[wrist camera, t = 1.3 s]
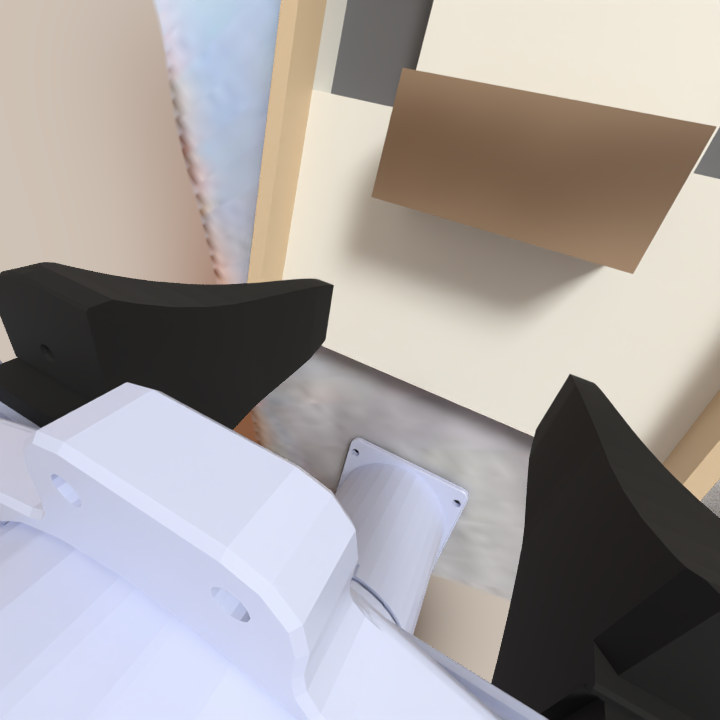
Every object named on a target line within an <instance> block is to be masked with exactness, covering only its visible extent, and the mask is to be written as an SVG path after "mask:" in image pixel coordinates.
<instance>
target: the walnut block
mask: <svg viewBox="0 0 720 720" xmlns="http://www.w3.org/2000/svg"><path fill="white" fill-rule="evenodd" d="M715 129H716V126H711V125H706V124H700V123H695V122H690V121H684V120H679V119H674V118H668V117H663V116H658V115H652V114H647V113H642V112H636V111H631V110H626V109H620V108H615V107H610V106H604V105H599V104H594V103H588V102H583V101H578V100H572V99H567V98H562V97H556V96H551V95H546V94H540V93H535V92H530V91H524V90H519V89H514V88H508V87H503V86H498V85H492V84H487V83H482V82H476V81H471V80H466V79H460V78H455V77H450V76H444V75H439V74H434V73H428V72H423V71H418V70H412V69H407V68H402V72H401V76H400V80H399V84H398V88H397V93H396V97H395V101H394V105H393V109H392V113H391V117H390V122H389V126H388V130H387V134H386V138H385V142H384V146H383V151H382V155H381V159H380V163H379V167H378V171H377V175H376V180H375V184H374V188H373V192H372V196H371V197H373V198H376V199H380V200H383V201H386V202H390V203H393V204H397V205H400V206H403V207H407V208H410V209H414V210H417V211H420V212H424V213H427V214H431V215H434V216H437V217H441V218H444V219H448V220H451V221H454V222H458V223H461V224H464V225H468V226H471V227H475V228H478V229H481V230H485V231H488V232H492V233H495V234H498V235H502V236H505V237H509V238H512V239H515V240H519V241H522V242H526V243H529V244H532V245H536V246H539V247H543V248H546V249H549V250H553V251H556V252H559V253H563V254H566V255H570V256H573V257H576V258H580V259H583V260H587V261H590V262H593V263H597V264H600V265H604V266H607V267H610V268H614V269H617V270H621V271H624V272H627V273H631V274H633V273H634V271H635V270H636V268H637V266H638V264H639V263H640V261H641V259H642V257H643V256H644V254H645V252H646V250H647V249H648V247H649V245H650V243H651V242H652V240H653V238H654V236H655V235H656V233H657V231H658V229H659V227H660V226H661V224H662V222H663V220H664V219H665V217H666V215H667V213H668V212H669V210H670V208H671V206H672V205H673V203H674V201H675V199H676V198H677V196H678V194H679V192H680V191H681V189H682V187H683V185H684V184H685V182H686V180H687V178H688V176H689V175H690V173H691V171H692V169H693V168H694V166H695V164H696V162H697V161H698V159H699V157H700V155H701V154H702V152H703V150H704V148H705V147H706V145H707V143H708V141H709V140H710V138H711V136H712V134H713V132H714V131H715Z"/></svg>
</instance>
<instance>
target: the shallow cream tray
mask: <svg viewBox="0 0 720 720" xmlns="http://www.w3.org/2000/svg"><path fill="white" fill-rule="evenodd" d="M402 68H407V69H412V70H418V71H423V72H428V73H434V74H439V75H444V76H450V77H455V78H460V79H466V80H471V81H476V82H482V83H487V84H492V85H498V86H503V87H508V88H514V89H519V90H524V91H530V92H535V93H540V94H546V95H551V96H556V97H562V98H567V99H572V100H578V101H583V102H588V103H594V104H599V105H604V106H610V107H615V108H620V109H626V110H631V111H636V112H642V113H647V114H652V115H658V116H663V117H668V118H674V119H679V120H684V121H690V122H695V123H700V124H706V125H711V126H716V129H715V131H714V132H713V134H712V136H711V138H710V140H709V141H708V143H707V145H706V147H705V148H704V150H703V152H702V154H701V155H700V157H699V159H698V161H697V162H696V164H695V166H694V168H693V169H692V171H691V173H690V175H689V176H688V178H687V180H686V182H685V184H684V185H683V187H682V189H681V191H680V192H679V194H678V196H677V198H676V199H675V201H674V203H673V205H672V206H671V208H670V210H669V212H668V213H667V215H666V217H665V219H664V220H663V222H662V224H661V226H660V227H659V229H658V231H657V233H656V235H655V236H654V238H653V240H652V242H651V243H650V245H649V247H648V249H647V250H646V252H645V254H644V256H643V257H642V259H641V261H640V263H639V264H638V266H637V268H636V270H635V271H634V273H633V274H631V273H627V272H624V271H621V270H617V269H614V268H610V267H607V266H604V265H600V264H597V263H593V262H590V261H587V260H583V259H580V258H576V257H573V256H570V255H566V254H563V253H559V252H556V251H553V250H549V249H546V248H543V247H539V246H536V245H532V244H529V243H526V242H522V241H519V240H515V239H512V238H509V237H505V236H502V235H498V234H495V233H492V232H488V231H485V230H481V229H478V228H475V227H471V226H468V225H464V224H461V223H458V222H454V221H451V220H448V219H444V218H441V217H437V216H434V215H431V214H427V213H424V212H420V211H417V210H414V209H410V208H407V207H403V206H400V205H397V204H393V203H390V202H386V201H383V200H380V199H376V198H373V197H371V196H372V192H373V188H374V184H375V180H376V175H377V171H378V167H379V163H380V159H381V155H382V151H383V146H384V142H385V138H386V134H387V130H388V126H389V122H390V117H391V113H392V109H393V105H394V101H395V97H396V93H397V88H398V84H399V80H400V76H401V72H402ZM307 278H312V279H319V280H322V281H324V282H327V283H330V284H332V285H334V288H333V294H332V301H331V307H330V314H329V320H328V327H327V334H326V340H325V341H324V342H323V344H322V345H321V346H324V347H326V348H328V349H331V350H333V351H335V352H338V353H340V354H342V355H345V356H347V357H349V358H352V359H354V360H356V361H359V362H361V363H363V364H366V365H368V366H370V367H373V368H375V369H377V370H380V371H382V372H384V373H387V374H389V375H391V376H394V377H396V378H398V379H401V380H403V381H405V382H408V383H410V384H412V385H415V386H417V387H419V388H422V389H424V390H426V391H429V392H431V393H433V394H436V395H438V396H440V397H443V398H445V399H447V400H449V401H452V402H454V403H456V404H459V405H461V406H463V407H466V408H468V409H470V410H473V411H475V412H477V413H480V414H482V415H484V416H487V417H489V418H491V419H494V420H496V421H498V422H501V423H503V424H505V425H508V426H510V427H512V428H515V429H517V430H519V431H522V432H524V433H526V434H529V435H531V436H533V437H534V435H535V431H536V428H537V427H538V425H539V424H540V422H541V420H542V419H543V417H544V415H545V414H546V412H547V410H548V409H549V407H550V406H551V404H552V402H553V401H554V399H555V397H556V396H557V394H558V392H559V391H560V389H561V388H562V386H563V384H564V383H565V381H566V379H567V378H568V376H569V375H570V374H572V375H575V376H577V377H580V378H583V379H585V380H588V381H591V382H593V383H595V384H596V385H597V386H598V387H599V388H600V389H601V391H602V392H603V393H604V394H605V395H606V397H607V398H608V399H609V400H610V402H611V403H612V404H613V406H614V407H615V408H616V410H617V411H618V412H619V413H620V415H621V416H622V417H623V419H624V420H625V421H626V422H627V424H628V425H629V426H630V427H631V429H632V430H633V431H634V432H635V434H636V435H637V436H638V437H639V438H640V440H641V441H642V442H643V443H644V444H645V445H646V447H647V448H648V449H649V450H650V451H651V452H652V453H653V454H654V455H655V457H656V458H657V459H658V460H659V461H660V462H661V463H662V464H663V465H664V466H665V468H666V469H667V470H668V471H669V472H670V473H671V474H672V475H673V476H674V477H675V478H676V479H677V480H678V481H679V482H680V483H682V484H683V485H684V486H685V487H686V488H687V489H688V490H689V491H690V492H691V493H692V494H693V495H694V496H695V497H696V498H697V499H698V500H699V501H701V499H702V498H703V497H704V496H705V495H706V494H707V493H708V492H709V490H710V489H711V488H712V487H713V486H714V485H715V484H716V482H717V481H718V480H719V479H720V0H281V6H280V14H279V23H278V31H277V39H276V48H275V56H274V64H273V73H272V81H271V89H270V98H269V106H268V114H267V123H266V131H265V139H264V148H263V156H262V164H261V173H260V181H259V189H258V198H257V206H256V214H255V223H254V231H253V240H252V248H251V256H250V265H249V273H248V281H247V283H259V282H270V281H280V280H291V279H307Z"/></svg>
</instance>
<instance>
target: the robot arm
mask: <svg viewBox="0 0 720 720" xmlns="http://www.w3.org/2000/svg"><path fill="white" fill-rule="evenodd" d="M333 288H334V285H332V284H330V283H327V282H324V281H322V280H319V279H312V278H307V279H291V280H280V281H270V282H259V283H244V284H227V285H197V284H180V283H168V282H155V281H147V280H139V279H132V278H126V277H120V276H114V275H108V274H103V273H98V272H93V271H88V270H84V269H80V268H75V267H70V266H66V265H61V264H58V263H49V262H43V263H38V264H33V265H29V266H25V267H20V268H17V269H12V270H7V271H3V272H1V273H0V316H1V319H2V321H3V324H4V327H5V329H6V331H7V334H8V336H9V339H10V342H11V344H12V347H13V349H14V352H15V354H16V356H17V357H18V358H15V359H13V360H10V361H8V362H5V363H2V362H1V361H0V720H720V518H719V517H718V516H716V515H715V514H714V513H713V512H712V511H711V510H709V509H708V508H707V507H706V506H705V505H704V504H703V503H702V502H700V501H699V500H698V499H697V498H696V497H695V496H694V495H693V494H692V493H691V492H690V491H689V490H688V489H687V488H686V487H685V486H684V485H683V484H682V483H680V482H679V481H678V480H677V479H676V478H675V477H674V476H673V475H672V474H671V473H670V472H669V471H668V470H667V469H666V468H665V466H664V465H663V464H662V463H661V462H660V461H659V460H658V459H657V458H656V457H655V455H654V454H653V453H652V452H651V451H650V450H649V449H648V448H647V447H646V445H645V444H644V443H643V442H642V441H641V440H640V438H639V437H638V436H637V435H636V434H635V432H634V431H633V430H632V429H631V427H630V426H629V425H628V424H627V422H626V421H625V420H624V419H623V417H622V416H621V415H620V413H619V412H618V411H617V410H616V408H615V407H614V406H613V404H612V403H611V402H610V400H609V399H608V398H607V397H606V395H605V394H604V393H603V392H602V391H601V389H600V388H599V387H598V386H597V385H596V384H595V383H593V382H591V381H588V380H585V379H583V378H580V377H577V376H575V375H572V374H570V375H569V376H568V378H567V379H566V381H565V383H564V384H563V386H562V388H561V389H560V391H559V392H558V394H557V396H556V397H555V399H554V401H553V402H552V404H551V406H550V407H549V409H548V410H547V412H546V414H545V415H544V417H543V419H542V420H541V422H540V424H539V425H538V427H537V428H536V431H535V435H534V440H533V444H532V448H531V452H530V457H529V467H528V481H527V496H526V511H525V527H524V536H523V544H522V549H521V554H520V559H519V565H518V570H517V575H516V580H515V585H514V589H513V594H512V599H511V603H510V608H509V613H508V617H507V621H506V626H505V630H504V635H503V638H502V643H501V647H500V651H499V655H498V660H497V664H496V667H495V671H494V675H493V679H492V683H489V682H488V681H486V680H485V679H483V678H481V677H480V676H478V675H476V674H475V673H473V672H472V671H470V670H468V669H467V668H465V667H464V666H462V665H460V664H459V663H457V662H456V661H454V660H452V659H451V658H449V657H448V656H446V655H444V654H443V653H441V652H439V651H438V650H436V649H435V648H433V647H431V646H430V645H428V644H427V643H425V642H423V641H422V640H420V639H418V638H417V637H415V636H413V633H414V629H415V626H416V623H417V619H418V616H419V612H420V609H421V606H422V602H423V599H424V595H425V592H426V589H427V586H428V582H429V579H430V575H431V572H432V569H433V567H434V565H435V563H436V562H437V560H438V558H439V556H440V554H441V552H442V550H443V548H444V546H445V544H446V542H447V540H448V538H449V536H450V534H451V532H452V530H453V528H454V526H455V524H456V522H457V520H458V518H459V516H460V514H461V513H462V511H463V509H464V507H465V505H466V503H467V500H468V496H469V495H468V492H467V491H466V490H465V489H464V488H462V487H460V486H458V485H456V484H454V483H452V482H450V481H448V480H446V479H443V478H441V477H439V476H437V475H435V474H433V473H431V472H429V471H427V470H425V469H423V468H421V467H419V466H417V465H415V464H413V463H411V462H409V461H407V460H405V459H403V458H401V457H399V456H397V455H394V454H392V453H390V452H388V451H386V450H384V449H382V448H380V447H378V446H376V445H374V444H372V443H370V442H368V441H366V440H364V439H362V438H359V437H357V438H354V439H353V440H352V442H351V444H350V448H349V451H348V454H347V458H346V461H345V464H344V468H343V471H342V474H341V478H340V481H339V484H338V488H337V491H336V494H335V495H334V494H333V492H332V491H331V490H330V489H328V488H327V487H326V486H324V485H323V484H322V483H321V482H319V481H318V480H317V479H315V478H314V477H313V476H311V475H310V474H309V473H308V472H306V471H305V470H304V469H302V468H301V467H300V466H298V465H296V464H294V463H292V462H291V461H289V460H287V459H285V458H283V457H281V456H279V455H278V454H276V453H274V452H272V451H270V450H268V449H266V448H265V447H263V446H261V445H259V444H257V443H255V442H253V441H252V440H250V439H248V438H246V437H244V436H242V435H240V434H238V433H237V432H235V431H233V429H234V428H235V427H236V425H238V424H239V422H240V421H241V420H242V419H243V418H244V417H245V416H246V415H247V414H248V413H249V412H250V411H251V410H252V409H253V408H254V407H255V406H256V405H257V404H258V403H259V402H260V401H261V400H262V399H263V398H264V397H266V396H267V395H268V394H269V393H270V392H272V391H273V390H274V389H275V388H276V387H277V386H279V385H280V384H281V383H282V382H283V381H285V380H286V379H287V378H288V377H289V376H291V375H292V374H293V373H294V372H295V371H296V370H298V369H299V368H300V367H301V366H302V365H303V364H305V363H306V362H307V361H308V360H309V359H310V358H311V357H312V356H313V354H314V353H315V352H316V351H317V350H318V349H319V347H320V346H321V345H322V344H323V342H324V341H325V340H326V334H327V327H328V320H329V314H330V307H331V301H332V294H333ZM354 449H356V450H358V452H359V453H357V452H356V451H355V450H354ZM454 500H458V501H459V502H460V503H456V502H455V501H454Z"/></svg>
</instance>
